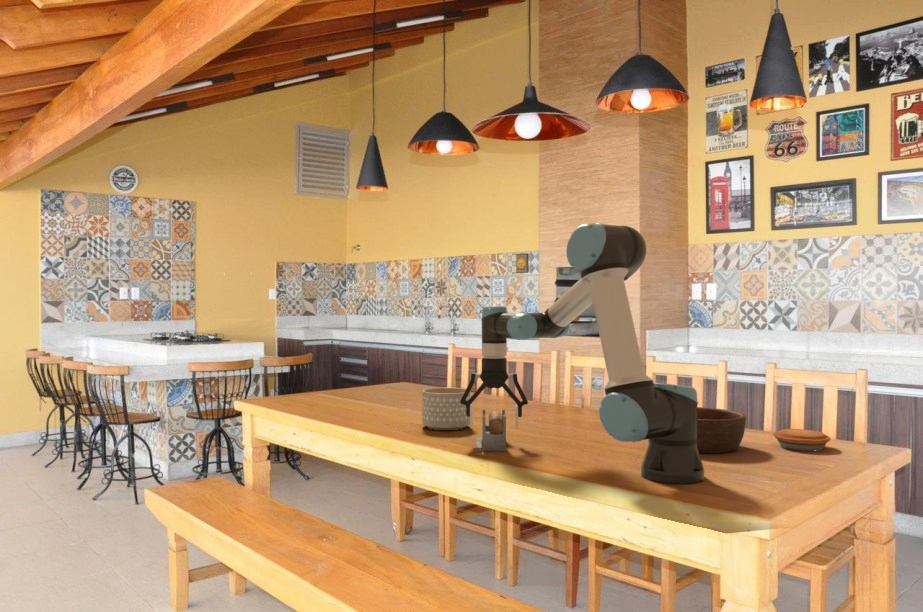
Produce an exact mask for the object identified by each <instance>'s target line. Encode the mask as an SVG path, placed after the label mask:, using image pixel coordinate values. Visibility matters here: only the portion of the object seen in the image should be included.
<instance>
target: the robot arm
mask: <svg viewBox="0 0 923 612" xmlns="http://www.w3.org/2000/svg"><path fill="white" fill-rule="evenodd" d="M565 250H566V258H567V262H568V264H569V266H571V267H572V268H573V269H575V271H579V273H580V274H579V275H580V279H578V280H577V282H575V283H574V284H573V285H572V286H571V287H570V288H569V289H567V291H565V292H564V293H563V294H562V295H561V296H560V297H559V298H558V299H556V301H554V302H553V303H552V304H551V305H550V306H549V307H548V308H547V309H546V310H544V311H542V312H508V310H507V307H506V306H505V305H484V306H483V307H482V309H481V318H480V319H481V320H480V321H481V356H482V358H481V372H480V373H475V372H471V377H470V381H469V383H468V385H467V387H466V388H465V389H466V391H465V393H464V394H463V396H462V398H461V401H460V403H461V404H464V405H466V416H467V417H470V425H469V428H470V429H473V428H474V427H473V426H474V425H473V422H474V421H473V417H474V416H473V413H474V410H473V409H474V405H473V404H472V403H474V402H475V400H476V398H478V396H479V395H481V394H482V392H483V391H484V389H485V388H487V389H500V388H503V390H504V391H505V392H506V393H507V394H508V395H509V397H510V398H511V399H512V400H513V401H514V402H515V404H516V405H515V407H514V409H515V410H514V414H515V415H514V428H515V429H517V430H518V429H519V418H521V417H522V416H523V406H525V405H528V403H529V402H528V399H527V397H526V395H525V392H524V391H523V389H522V387H521V385H520V383H519V381H518V375H517V373H516V372H513V373H509V374H508V372H507V371H508V369H507V368H508V367H507V366H508V365H507V361H508V360H507V355H508V353H507V351H508V350H507V349H508V348H507V347H508V344H507V343H508V340H507V339H511V340H512V339H513V340H518V341H521V340H524V341H525V340H531V339H556V338H563V337H564V336H565V335H567V333H568V330H570V324H571V323H572V322H573V321H575V320H576V318H577V317H579V316H580V315H581V314H583V312H584V311H586V310H588V308H589V307H590V306H592V307H593V312H594V315H595V320H596V326H597V330H598V334H599V340H600V344H601V349H602V354H603V358H604V362H605V368H606V372H607V377H608V382H607V383H606V385H605V387H604V395H605V396H603V398H602V400H601V401H600V405H599V409H598V415H599V420H600V422H601V425H602V427H603V429H604V430H605V432H606V433H607V434H608V435H609V436H611V437H612V438H613V440H616V441H618V442H623V443H628V442H631V443H637V442H641V441H644V440H648V443H647V444H648V445H647V446H646V447H647V448H646V450H645V453H644V456H643V459H642V462H641V466H640V474H641V476H642V477H643V478H645V479H648V480H650V481H654V482H660V483H665V484H694V483H699V482H702V481H704V480H705V469H704V464H703V462H702V459H701V455H700V453H699V452H698V449H697V407H698V405H699V401H698V392H697V389H695V388H694V387H693V386H689V385H687V386H686V385H679V384H671V383H662V382H654V380H653V378H651V377H650V376H648V375H646V373H645V369H644V365H643V361H642V360H643V359H642V357H641V351H640V347H639V342H638V338H637V332H636V328H635V325H634V319H633V315H632V310H631V307H630V301H629V298H628V292H627V289H626V288H627V287H626V284H625V281H627V280H628V279H629V278H630V277H632V276H633V275H634V274H635V273H636V272H637V271H638V270H639V269H640V268H641V267H642V265H643V263H644V261H645V259H646V256H647V244H646V241H645V239H644V237H643V235H642V234H641V233H640V232H639V231H638V230H637V229H635V228H633V227H630V226H626V225H617V224H616V225H614V224H606V223H605V224H604V223H599V222H594V223H583V224H581V225H579V226H578V227H576V228H575V229H574V231H572V233H571V235H570V238H568V241H567V244H566V249H565ZM479 379H480V380H481V381H482V383H481V384H480V386H479V387H478V388H477V389H476V391H475V392H474V393H473V394H472V395H470V399H469V400H468V401H467V400H466V398H467V396H468V394H469V392H470V393H471V391H472V388H473V386H474V383H475V382H476V381H478V380H479ZM508 379H510V381H511V382H513V384H514V386H515V388H516V390H517V392H518V394H519V396H520V398H521V400H520V399H519V398H518V397H517V396H516V394H515V393H514V392H513V390H511V388H510V387H509V386H508V385H507V383H506V382H507V381H508Z"/></svg>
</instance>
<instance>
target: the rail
mask: <svg viewBox="0 0 923 612" xmlns="http://www.w3.org/2000/svg"><path fill="white" fill-rule="evenodd" d="M488 424H489V430H490V432H491V433H492V434H494V435H498V434H500V433H501V432H502V430H503V424H502V413H501V412H500V411H498V410H492V411H491V412H490V413H489V415H488Z"/></svg>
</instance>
